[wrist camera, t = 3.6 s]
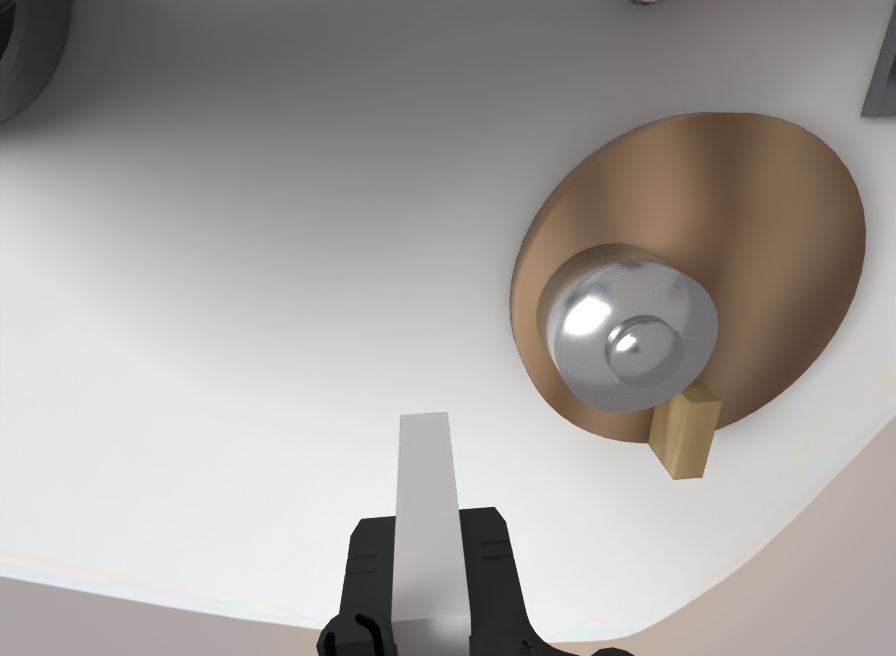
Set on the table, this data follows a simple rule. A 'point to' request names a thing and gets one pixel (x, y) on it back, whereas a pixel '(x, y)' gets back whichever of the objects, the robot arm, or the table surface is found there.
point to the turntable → (707, 262)
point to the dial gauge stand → (884, 78)
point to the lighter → (642, 2)
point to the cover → (625, 327)
